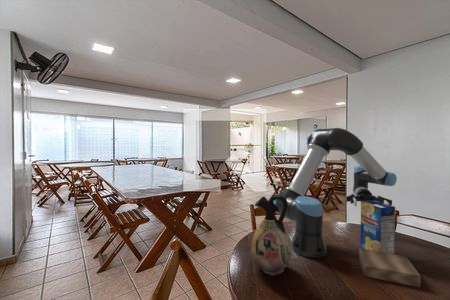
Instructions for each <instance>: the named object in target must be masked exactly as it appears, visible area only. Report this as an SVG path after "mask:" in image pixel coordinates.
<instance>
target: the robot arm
mask: <svg viewBox="0 0 450 300" xmlns="http://www.w3.org/2000/svg"><path fill="white" fill-rule="evenodd" d="M306 145H307V146H306V148H307V152H306V154H305V156H304V158H303V159H302V161H301V163H300V164H299V167H298V168H297V171H296V173H295V174H294V175H293V178H292V180H291V182H290V183H289V186H286V187H284V189H283V190H282V192H279V193H277V194H276V195H282V196H284V197H285V198H286V200H287V204H288V206H287V211H286V214H285V217H284V219H285V218H286V219H288V220H290V221H292V222H293V223H294V225H295V228H294V230H295V231H294V234H293V237H292V239H291V241H290V245H291V247H292V248H291V250H292V249H293V250H294V251H295V252H296V253H295V252H294V251H293V250H292V251H293V252H294V253H295V254H297V253H298V254H297V255H299V254H300V256H301V255H302V256H303V257H304V258H310V259H311V258H312V259H319V258H320V259H321V258H323V257H326V255H327V245H326V242H325V239H324V236H323V225H324V224H323V221H324V210H323V204H322V202H321V201H320V200H319V199H317V198H315V197H311V196H307V195H306V196H305V194H306V192H307V190H308V188H309V187H310V185H311V182H312V180H313V178H314V177H315V175H316V172H317V171H318V168H319V166H320V165H321V163H322V160H323V159H324V158H325V157H328V155H329V154H330V152H331V151H340V152H343V153H344V154H345V155H346V156H349V157H351V158H352V159H353V160H354V161H355V162H356V163H357V164H358V165H356V166H354V169H353V187H352V192H353V193H351V194H350V195H347V196H346V197H345V198H346V202H347V203H349V202H350V204H351V205H352V204H353V206H354V207H357V204H358V202H361V201H368V200H375V201H378V202H381V203H384V204H388V205H391V206H393V200H392V199H388V198H387V197H382V196H380V195H377V196H376V195H373V193H372V192H371V191H370V190H369V184H375V185H380V186H384V187H388V186H389V187H393V186H395V185H396V183H397V178H398V177H397V175H396V174H395V173H394V172H390V171H386V169H385V168H384V167H383V166H382V165H381V164H380V163H379V162H378V161H377V160H376V158H374V157H373V155H372V154H371V153H370V152H369V151H368V150H367V149H366V148H365V146H364V143H363V142H362V140H361V139H360V138H359V137H358V136H357V135H355V134H354V133H352V132H350V131H349V130H347V129H344V128H341V127H332V128H331V127H330V128H318V129H313V130H312V131H310V132H309V134H308V135H307V137H306ZM273 203H274V204H275V205H276V206H277V207H278V209H279V211H278V212H275V214H277V215H279V216H280V215H281V213H282V209H283V202H282V201H279V200H274V201H273Z"/></svg>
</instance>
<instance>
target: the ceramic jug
mask: <svg viewBox="0 0 450 300" xmlns="http://www.w3.org/2000/svg"><path fill="white" fill-rule="evenodd" d="M274 200H279V201H282V202H283V209H282V213H281V215H279V218H278V219H277V216H276V212H278V211H279V209H278V207H277V206H276V205H275V204H274V203H273V201H274ZM254 206H255V207H256V208H259V209H261V210H263V211H264V212H265V216H264V218H263V220H262V221H261V222H260V224H259V225H258V226H257V229H256V230H255V232H254V234H253V236H252V240H251V245H250V253H251V256H252V259H253V262H254V263H255V264H256V265H257V266H258V268H259V267H260V269H261V270H262V271H264V272H266V273H269V274H278V273H280V274H282V273H283V272H284V271H285V268H286V267H287V266H288V265H289V263H290V262H291V258H292V248H291V241H290V239H289V237H288V235H287V233H286V229H285V225H284V219H285V214H286V211H287V206H288V204H287V200H286V198H285V197H284V196H282V195H277V194H274V195H271V197H270V198H269V199H267V198H266V196H262V197H261V198H259V199H258V200H257V201H256V202H255V204H254ZM260 269H259V270H260ZM281 272H282V273H281ZM278 275H279V274H278Z"/></svg>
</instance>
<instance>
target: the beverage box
mask: <svg viewBox="0 0 450 300" xmlns="http://www.w3.org/2000/svg"><path fill="white" fill-rule="evenodd" d="M395 228H396V206H393V205H388V204H384V203H381V202H378V201H375V200H368V201H360V239H359V240H360V242H359V243H360V245H359V247H360V249H366V250H372V251H378V252H385V253H391V254H395V239H396V238H395V237H396V229H395Z"/></svg>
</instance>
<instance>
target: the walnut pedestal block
mask: <svg viewBox="0 0 450 300" xmlns="http://www.w3.org/2000/svg"><path fill="white" fill-rule="evenodd" d="M358 259H359V263H360V265H361V268H362V272H363V274H364V277H367V278H372V279H378V280H382V281H386V282H387V281H388V282H392V283H397V284H401V285H407V286H412V287H416V288H421V285H422V284H421V281H422V280H421V278H422V277H421V274H420V273H419V272H418V271H417V269H416V268H415V266H414V265H413V264H412V263H411V261H410V260H409V259H408V257H407V255H402V254H398V253H394V254H391V253H385V252H378V251H372V250H366V249H362V248H361V247H360V248H359V247H358Z"/></svg>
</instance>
